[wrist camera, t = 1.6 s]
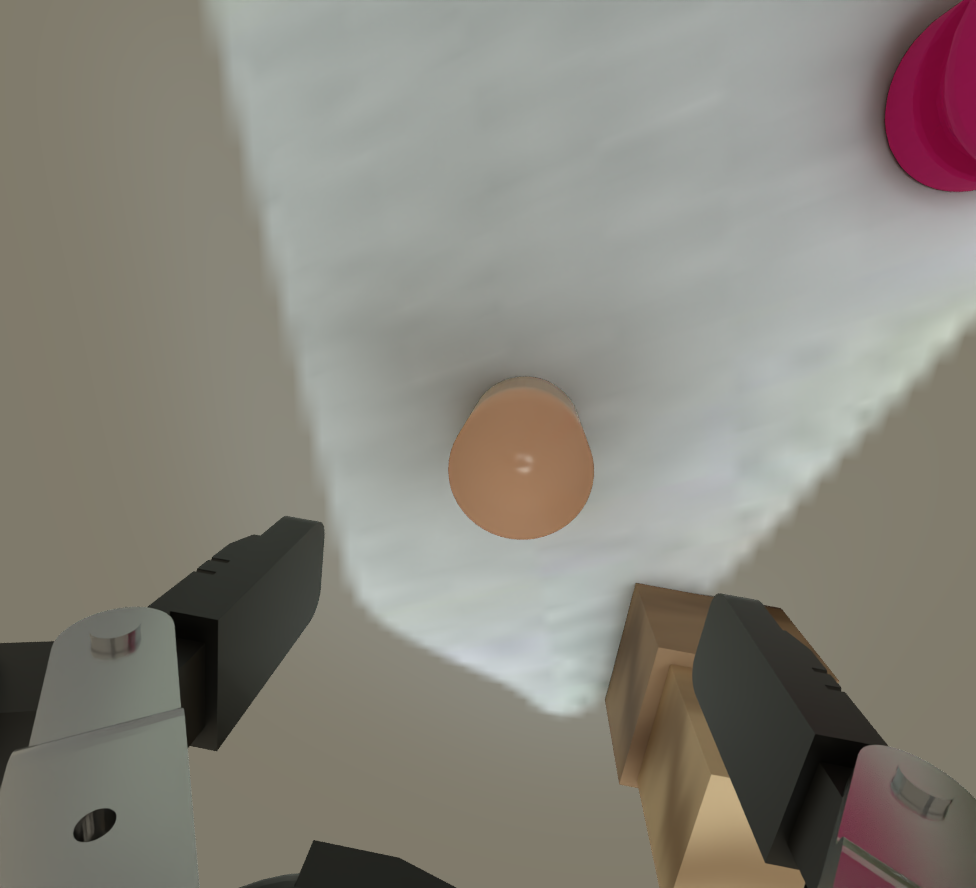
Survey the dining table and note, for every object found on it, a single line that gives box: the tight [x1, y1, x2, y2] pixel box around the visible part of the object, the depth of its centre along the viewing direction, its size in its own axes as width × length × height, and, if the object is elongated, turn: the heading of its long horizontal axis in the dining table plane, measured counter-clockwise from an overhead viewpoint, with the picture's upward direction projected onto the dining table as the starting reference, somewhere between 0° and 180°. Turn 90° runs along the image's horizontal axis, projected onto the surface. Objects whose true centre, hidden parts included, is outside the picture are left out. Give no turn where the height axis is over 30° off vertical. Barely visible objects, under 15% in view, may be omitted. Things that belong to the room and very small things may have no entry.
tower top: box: [637, 664, 805, 888], centre depth 19 cm, size 6×6×5 cm
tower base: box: [605, 583, 839, 788], centre depth 24 cm, size 7×7×5 cm
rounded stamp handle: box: [448, 376, 594, 539], centre depth 21 cm, size 5×5×6 cm
